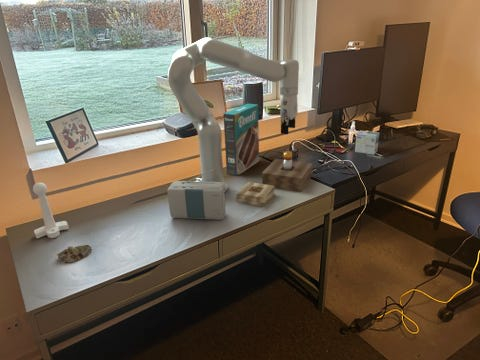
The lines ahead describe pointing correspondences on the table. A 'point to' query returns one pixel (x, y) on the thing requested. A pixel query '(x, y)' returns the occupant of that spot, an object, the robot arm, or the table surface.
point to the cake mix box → (241, 138)
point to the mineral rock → (74, 253)
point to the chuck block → (287, 175)
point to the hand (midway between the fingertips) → (288, 130)
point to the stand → (255, 194)
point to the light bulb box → (367, 142)
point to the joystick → (47, 215)
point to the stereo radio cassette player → (197, 199)
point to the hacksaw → (324, 165)
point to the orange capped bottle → (287, 160)
